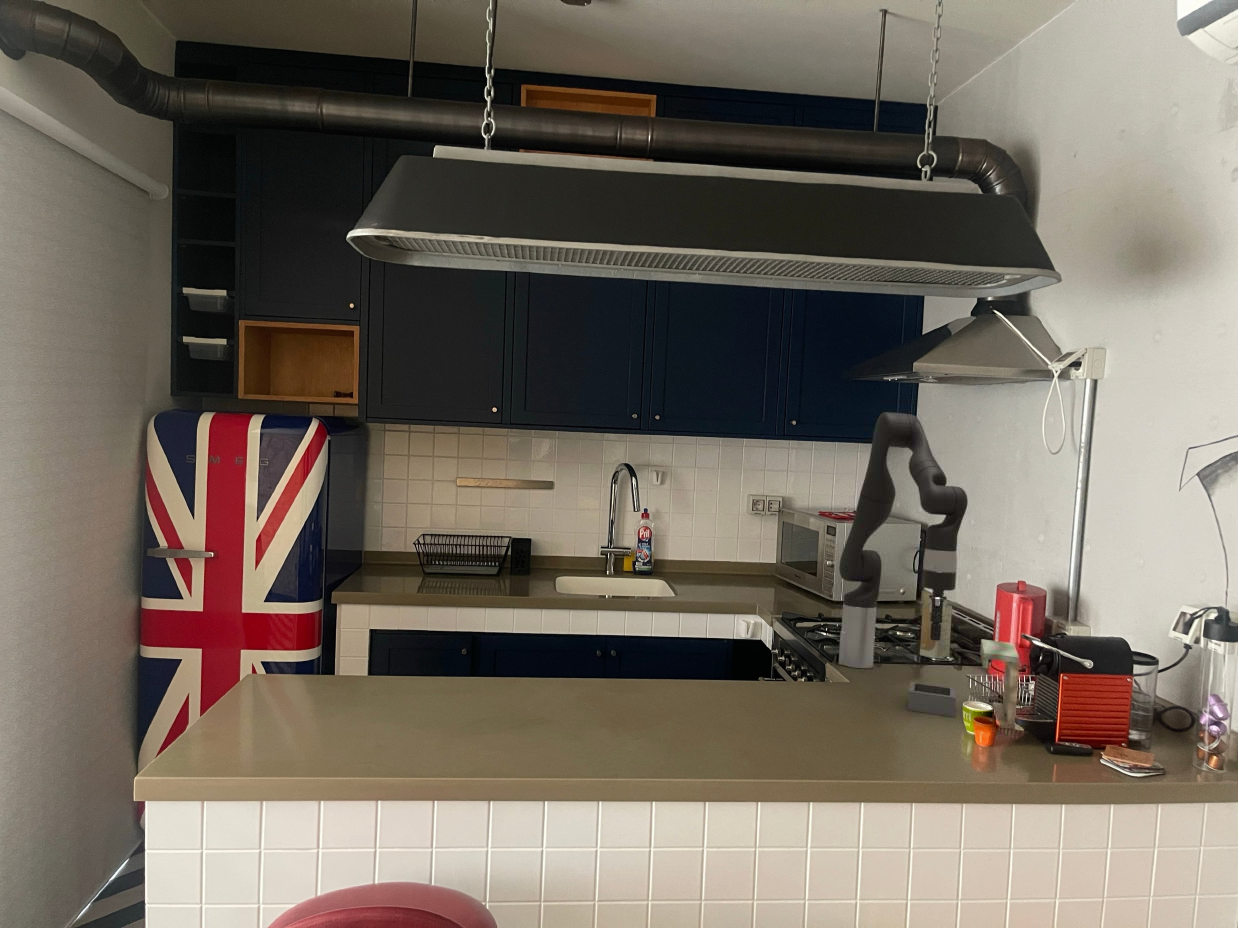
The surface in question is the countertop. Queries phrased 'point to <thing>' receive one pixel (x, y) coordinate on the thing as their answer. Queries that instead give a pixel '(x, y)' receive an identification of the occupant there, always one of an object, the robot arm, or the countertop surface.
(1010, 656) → the awning stand
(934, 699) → the socket
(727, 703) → the countertop surface
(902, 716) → the countertop surface
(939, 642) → the skincare box
